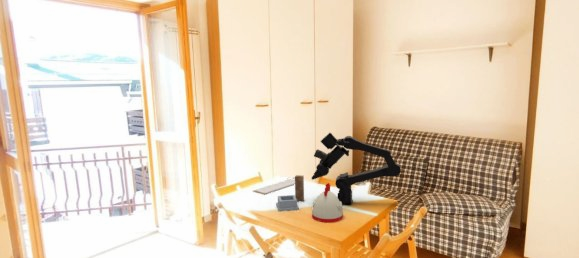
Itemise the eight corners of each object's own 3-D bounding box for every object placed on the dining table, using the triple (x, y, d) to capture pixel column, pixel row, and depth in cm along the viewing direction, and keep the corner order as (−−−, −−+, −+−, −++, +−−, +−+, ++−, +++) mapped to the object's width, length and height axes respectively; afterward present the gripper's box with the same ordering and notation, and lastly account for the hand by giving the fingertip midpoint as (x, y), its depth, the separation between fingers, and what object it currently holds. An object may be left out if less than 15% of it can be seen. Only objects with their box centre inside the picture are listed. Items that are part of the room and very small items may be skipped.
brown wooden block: (304, 199, 170) (303, 175, 168) (303, 201, 167) (302, 177, 165) (296, 199, 171) (295, 175, 169) (295, 201, 168) (294, 176, 166)
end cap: (295, 202, 165) (295, 194, 165) (299, 209, 155) (298, 200, 155) (276, 204, 164) (275, 195, 163) (278, 211, 154) (278, 202, 154)
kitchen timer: (345, 213, 150) (345, 181, 148) (339, 224, 137) (339, 189, 136) (316, 209, 155) (316, 179, 153) (308, 220, 142) (307, 187, 141)
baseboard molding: (250, 191, 188) (264, 196, 180) (250, 186, 188) (264, 190, 180) (286, 180, 211) (300, 183, 203) (286, 176, 211) (300, 179, 203)
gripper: (325, 141, 172) (305, 161, 175) (321, 147, 154) (298, 169, 157) (340, 156, 171) (319, 176, 175) (337, 164, 153) (315, 186, 157)
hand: (313, 176), depth 166 cm, fingers open, 9 cm apart
